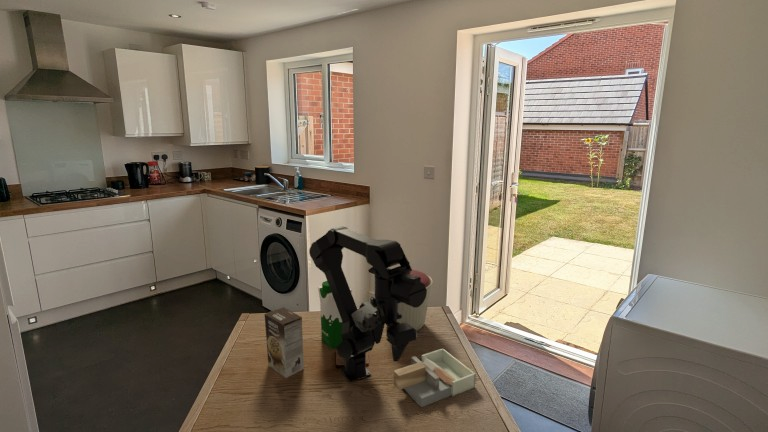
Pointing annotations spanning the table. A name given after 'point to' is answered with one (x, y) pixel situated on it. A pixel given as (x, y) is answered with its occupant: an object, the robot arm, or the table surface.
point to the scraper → (415, 375)
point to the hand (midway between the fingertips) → (386, 351)
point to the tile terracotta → (444, 376)
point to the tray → (453, 370)
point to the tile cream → (432, 365)
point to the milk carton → (330, 317)
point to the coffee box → (284, 341)
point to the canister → (417, 314)
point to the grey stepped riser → (428, 392)
